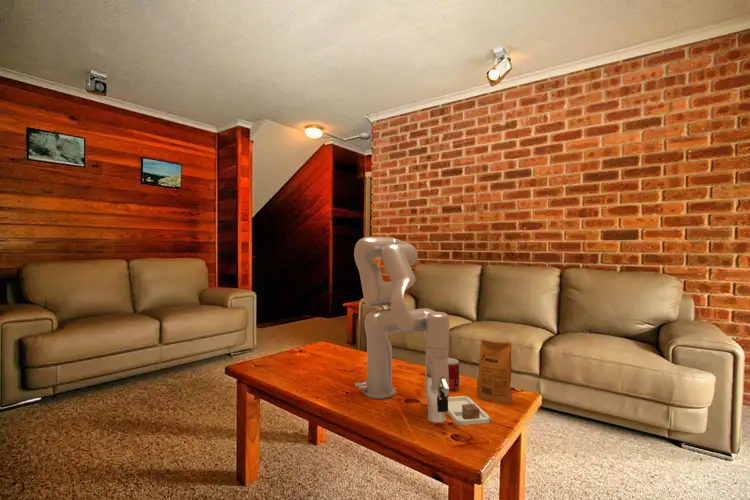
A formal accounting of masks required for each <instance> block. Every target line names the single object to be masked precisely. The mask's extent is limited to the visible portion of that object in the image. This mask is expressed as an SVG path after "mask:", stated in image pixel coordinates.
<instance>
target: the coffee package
mask: <svg viewBox="0 0 750 500" xmlns="http://www.w3.org/2000/svg"><path fill="white" fill-rule="evenodd" d="M479 351H480V353H479V361H478V375H477V380H476V393H477V394H476V396H477V398H478V399H479V400H483V401H487V402H490V403H493V404H494V403H495V404H502V405H509V404H511V403H512V402H513V393H512V389H511V381H512V378H511V377H512V341H496V342H495V341H491V340H489V339H485V338H481V340H480V347H479Z"/></svg>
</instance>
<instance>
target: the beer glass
mask: <svg viewBox="0 0 750 500" xmlns="http://www.w3.org/2000/svg"><path fill="white" fill-rule="evenodd" d="M427 375H428V374H426V381H425V386H424V387H425V388H424V389H425V396H426V397H425V398H426V402H427V404H426V405H427V417H426V418H427V420H428V421H429V422H431V423H435V424H440V423H445V422H446V420H447V419H446V412H438V399H439V397H438V392H437V390H436V391H433V390H432V378H431V377H428V376H427ZM439 388H443V387H442V384H440V387H439ZM440 393H441V394H442V393H443V391H440Z"/></svg>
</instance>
